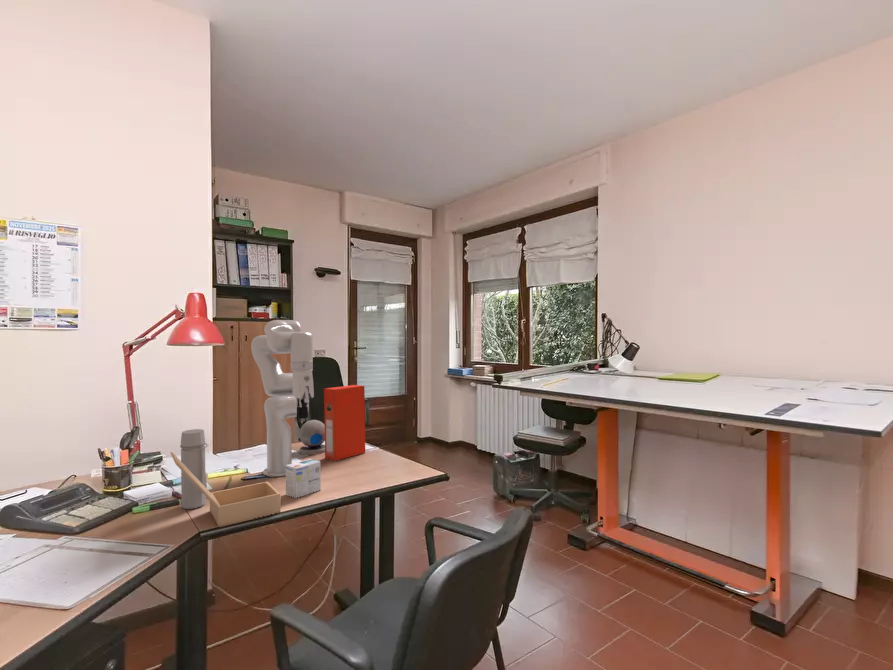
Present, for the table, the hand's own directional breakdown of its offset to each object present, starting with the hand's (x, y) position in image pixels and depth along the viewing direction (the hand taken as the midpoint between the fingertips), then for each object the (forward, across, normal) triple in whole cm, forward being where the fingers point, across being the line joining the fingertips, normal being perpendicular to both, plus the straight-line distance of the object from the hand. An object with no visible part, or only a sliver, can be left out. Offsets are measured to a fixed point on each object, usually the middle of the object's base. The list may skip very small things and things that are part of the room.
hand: (302, 417), depth 162 cm
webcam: (+27, +53, -23) cm, 64 cm away
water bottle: (+27, +9, +33) cm, 44 cm away
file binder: (+27, +36, -32) cm, 56 cm away
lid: (+13, -6, +35) cm, 38 cm away
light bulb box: (+27, 0, 0) cm, 27 cm away
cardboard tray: (+27, -6, +21) cm, 35 cm away
